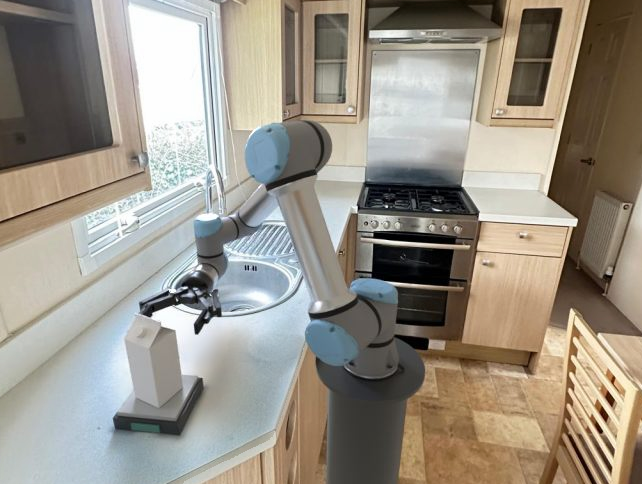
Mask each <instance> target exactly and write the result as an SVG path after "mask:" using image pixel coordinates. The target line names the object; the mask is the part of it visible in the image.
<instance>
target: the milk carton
mask: <svg viewBox="0 0 642 484" xmlns="http://www.w3.org/2000/svg"><path fill="white" fill-rule="evenodd" d="M138 313H139V312H134V316H135V318H134V319H133V320H132V323H131V325H130V327H129V328H128V330H127V331H126V334H125V336H124V338H123V339H124V345H125V346H124V347H125V351H126V356H127V360H128V367H129V371H130V375H131V376H130V377H131V383H132V387H133V389H134V393H135V397H136V398H138V399H140V400H142V401H144V402H147V403H149V404H151V405H153V406H155V407H157V408H160V407H161V406H162V405H163V404H165V403H166V402H167V401H168V400H169V399H170V398H171V397H173V396H174V395H175V394H176V393H177V392H178V391H179V390H181V389H182V388H183V382H182V375H183V374H182V369H181V360H180V353H179V345H178V338H177V331H176V329H174V328H171V327H168V326H165V325H162V321H161V320H158V319H155V318H153V317H151V318H149V317H146V316H144V315H141V314H138Z"/></svg>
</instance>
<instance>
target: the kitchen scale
mask: <svg viewBox="0 0 642 484" xmlns="http://www.w3.org/2000/svg"><path fill="white" fill-rule="evenodd" d="M181 375H182V382H183V388H182V389H181V390H179V391H178V392H177V393H176V394H175V395H174V396H173V397H171V398H170V399H169V400H168V401H167V402H166V403H165V404H163V405H162V406H161V407H160V408H157V407H155V406H153V405H151V404H149V403H147V402H144V401H142V400H140V399H138V398H136V397H135V393H134V388H133V389H132V391H131V392H130V394H129V395H128V396H127V398H126V399H125V400H124V402H123V403H122V405H121V406H120V407H119V408H118V410H117V411H116V413H115V414H114V415H113V417H112V421H113V426H114V430H120V431H128V432H129V431H130V432H139V433H140V432H141V433H149V434H158V435H169V436H178V437H179V436H181V434H182V432H183V430H184V428H185V426H186V424H187V422H188V421H189V418H190V416H191V414H192V412H193V410H194V408H195V406H196V404H197V403H198V400H199V398H200V396H201V395H202V393H203V390H204V387H205V386H204V378H203V377H199V375H189V374H181Z"/></svg>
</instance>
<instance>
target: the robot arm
mask: <svg viewBox="0 0 642 484" xmlns="http://www.w3.org/2000/svg"><path fill="white" fill-rule="evenodd" d="M332 140H333V139H332V138H331V135H330V133H329V132H328V129H326V128H325V127H324V126H323V125H322V123H320V122H319V123H318V122H317V121H314V120H309V119H301V120H295V121H284V122H282V121H281V122H272V123H269V124H264V125H260V126H258V127H256V128H255V129H254V130H253V131H252V132H251V133H250V134H249V136H248V138H247V140H246V145H245V147H244V162H245V167H246V169H247V172H248V174H249V175H250V177H251V178H253V179H254V181H256V182H257V183H260V185H259V186H258V187H257V188H256V189H255V190H254V192H253V193H252V194H251V195H250V196H249V197H248V199H247V200H246V201H245V202H244V203H243V204H242V206H241V207H240V208H239V209H238V210H237V211H236V212H234V213H232V214H230V215H226V216H224V217H221V216H220V215H218V214H215V213H206V214H205V213H204V214H200V215H197V216H196V217H195V218H194V221H193V235H194V239H195V247H196V259H197V264H196V266H195V267H194V268H193V269H192V270H191V271H190V272H189V274H188V275H187V276H186V277H185V278H184V280H182V282H181V285H180V287H179V288H177V289H172V286H166V287H165V288H164V289H162V290H161V291H159V292H156V293H155V294H153V295H151V296H149V297H147V298H144V299H143V300H140V301H139V302H138V306H139V312H137V313H138V314H141V315H144V316H146V317H149V318H153V316H154V315H153V314H154V313H156V312H159V311H161V310H164V309H167V308H169V307H173V306H175V307H177V306H179V305H186V304H187V305H196V306H197V307H198V308H200V310H202V311H201V312H200V314H198V316H197V318H196V320H194V322H193V331H194V335H196V336H197V335H198V336H199V334H200V332H201V331H202V329H203V327H205V325H208V324H209V323H210V321H211V320H212V319H214V317H216V318H221V317H222V316H223V312H222V305H221V302H220V296H219V289H218V288H215V287H216V286H217V284H218V283H219V281H220V280H221V278H222V277H223V276H224V275H225V273H226V271H227V269H228V267H229V257H228V256H227V255H226V253H225V250H224V246H225V245H227V244H229V243H231V242H234V241H237V240H240V239H243V238H245V237H246V238H247V237H248V236H253V235H254V234H256V233H258V232H260V230H261V229H262V227H263V222H264V221H265V220H266V219H267V218H268V217H269V216H270V215H271V214H272V213H273V212H274V211H275V210H276V209H277V208H278V207H279V211H280V213H281V217H282V219H283V221H284V224H285V228H286V231H287V233H288V237H289V240H290V242H291V246H292V249H293V251H294V255H295V258H296V260H297V263H298V266H299V269H300V272H301V275H302V278H303V281H304V284H305V288H306V291H307V293H308V296H309V299H310V300H309V304H308V305H307V307H306V311H307V314H308V317H309V320H310V321H309V323H307V325H306V326H305V330H304V339H305V342H306V345H307V346H308V348H309V350H310V352H312V354H313V355H314V357H315V358H316V357H318V358H319V359H321V360H322V361H323V362H325V363H327V364H329V365H333V366H342V367H343V369H344V370H345V371H346V372H347V373H349V374H350V375H352V376H353V377H356V378H358V379H361V380H366V381H382V380H386V379H388V378H390V377H392V376H394V375H395V374H396V372H397V371H398V368H400V369H401V370H403V371H404V370H405V368H404V367H403V366H402V365H401V364H400V363H399V355H398V352H397V348H396V345H395V341H394V337H395V335H396V333H395V332H396V324H397V315H398V304H399V299H398V297H399V292H398V289H397V288H396V287H395V286H394V285H393V284H392V283H389V282H387V281H384V280H381V279H379V278H378V279H377V278H370V277H368V278H367V277H365V278H364V277H363V278H358V279H355V280H353V281H351V283H350V287H349V288H348V286H347V283H346V281H345V277H344V274H343V270H342V268H341V265H340V262H339V259H338V256H337V253H336V250H335V247H334V244H333V240H332V238H331V234H330V232H329V227H328V225H327V222H326V220H325V216H324V213H323V210H322V206H321V204H320V201H319V198H318V195H317V192H316V189H315V183H316V181H317V180H318V177H319V175H318V173H319V172H320V171H321V170H322V169H323V168H324V167H325V166H326V165H327V164H328V162H329V161H330V160H331V157H332V153H333V141H332ZM208 298H209V299H210V301H211V302H212V304H210V302H209V301H208V300H207V299H208Z"/></svg>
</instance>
